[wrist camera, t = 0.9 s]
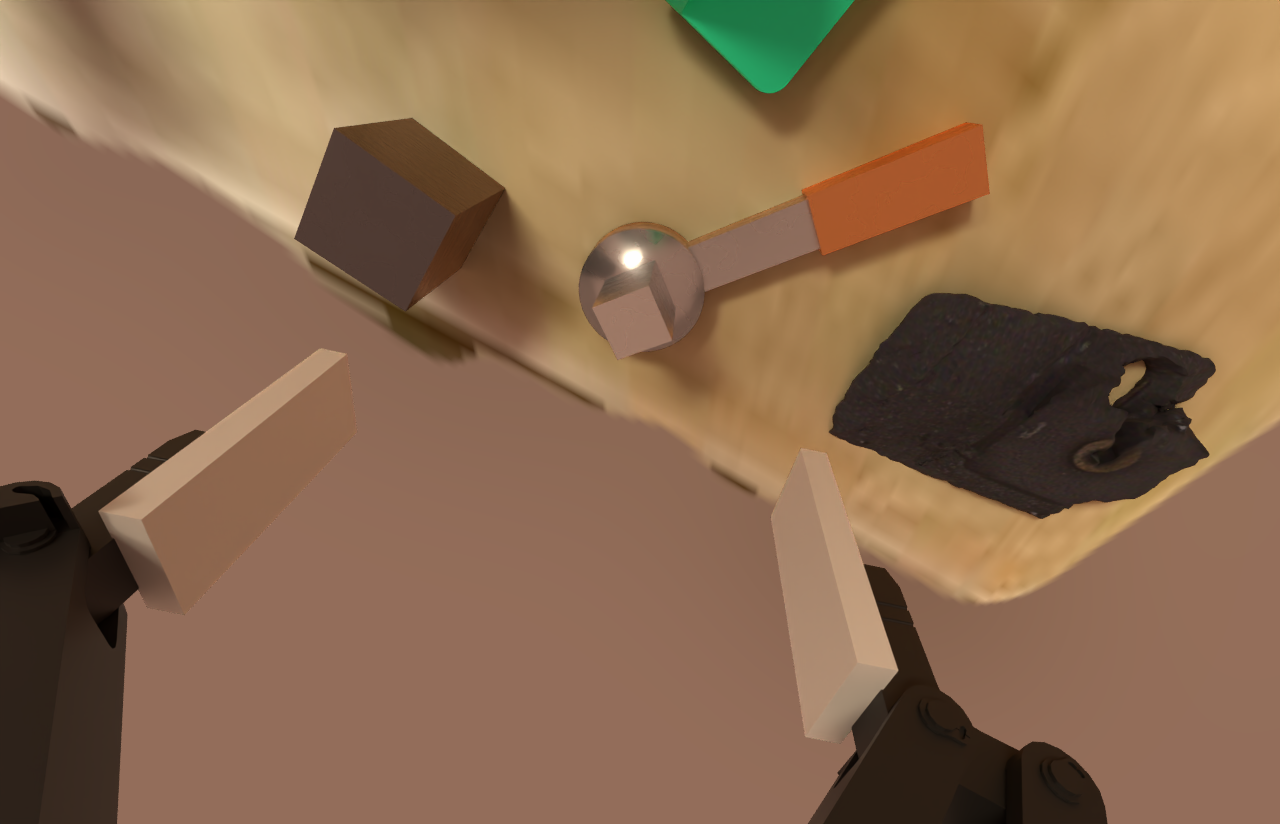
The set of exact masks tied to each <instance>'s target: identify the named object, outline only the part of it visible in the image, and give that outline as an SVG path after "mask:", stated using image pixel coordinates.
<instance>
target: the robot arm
mask: <svg viewBox="0 0 1280 824" xmlns="http://www.w3.org/2000/svg"><path fill="white" fill-rule="evenodd" d="M356 433H357V426H356V418H355V410H354V403H353V395H352V388H351V380H350V373H349V365H348V357H347V354H344V353H340V352H335V351H330V350H325V349H321V348H320V349H319V350H317V351H316V352H315V353H313V354H312V355H310V356H309V357H308V358H306V359H305V360H304V361H302V362H301V363H300V364H298V365H297V366H295V367H294V368H293V369H291V370H290V371H289V372H287V373H286V374H285V375H283V376H282V377H280V378H279V379H278V380H276V381H275V382H274V383H272V384H271V385H270V386H268V387H267V388H265V389H264V390H263V391H261V392H260V393H259V394H257V395H256V396H255V397H253V398H252V399H250V400H249V401H248V402H246V403H245V404H244V405H242V406H241V407H240V408H238V409H237V410H235V411H234V412H233V413H231V414H230V415H229V416H227V417H226V418H225V419H223V420H222V421H220V422H219V423H218V424H216V425H215V426H214V427H212V428H211V429H210V430H208V431H207V432H204V431H199V430H194V431H191V432H189V433H186V434H184V435H182V436H179V437H177V438H174V439H172V440H169V441H168V442H166V443H165V444H163V445H162V446H161V447H159V448H158V449H156V450H155V451H153V452H152V453H151V454H149V455H148V458H147V459H146V458H143V459H142V460H140V461H139V462H137V463H136V464H135V465H133V466H132V467H131V470H126V471H125V472H123V473H122V474H120V475H119V476H117V477H116V478H115V479H113V480H112V481H111V482H109V483H107V484H106V485H105V486H103V487H102V488H100V489H99V490H97V491H96V492H95V493H93V494H92V495H90V496H89V497H87V498H86V499H85V500H83V501H82V502H80V503H79V504H77V505H76V506H75V507H73V508H72V509H71V507H70V505H69V503H68V502H67V500H66V498H65V496H64V494H63V492H62V491H61V489H60V487H57V486H56V485H54V484H52V483H49V482H41V481H27V482H17V483H12V484H8V485H5V486H0V824H117V811H118V809H117V808H118V792H119V771H120V752H121V732H122V712H123V692H124V672H125V670H124V669H125V651H126V650H125V649H126V632H127V631H126V630H127V612H126V609H125V606H124V604H123V603H124V602H125V601H126V600H127V599H128V598H129V597H130V596H131V595H132V594H133V593H134V592H136V591H137V590H139V592H140V594H141V596H142V598H143V600H144V602H145V604H146V606H147V607H148V608H152V609H157V610H162V611H167V612H172V613H177V614H182V615H185V614H186V613H187V612H188V611H189V610H190V608H192V607H193V605H194V604H195V603H196V602H197V601H198V600H199V599H200V598H201V597H202V596H203V595H204V594H205V593H206V592H207V591H208V590H209V589H210V588H211V586H212V585H213V584H214V583H215V582H216V581H217V580H218V579H219V578H220V577H221V576H222V575H223V573H225V572H226V570H228V568H229V567H230V566H231V565H232V564H233V563H234V562H235V561H236V560H237V559H238V558H239V557H240V556H241V555H242V554H243V553H244V551H246V549H247V548H248V547H249V546H250V545H251V544H252V543H253V542H254V541H255V540H256V539H257V538H258V537H259V536H260V535H261V533H263V531H264V530H265V529H266V528H267V527H268V526H269V525H270V524H271V523H272V522H273V521H274V520H275V519H276V518H277V517H278V515H280V514H281V512H282V511H283V510H284V509H285V508H286V507H287V506H288V505H289V504H290V503H291V502H292V501H293V500H294V499H295V498H296V497H297V495H298V494H299V493H300V492H301V491H302V490H303V489H304V488H305V487H306V486H307V485H308V484H309V483H310V482H311V481H312V480H313V479H314V478H315V477H316V475H317V474H318V473H319V472H320V471H321V470H322V469H323V468H324V467H325V466H326V465H327V464H328V463H329V462H330V461H331V460H332V458H333V457H334V456H335V455H336V454H337V453H338V452H339V451H340V450H341V449H342V448H343V447H344V446H345V445H346V444H347V443H348V442H349V441H350V439H351V438H352V437H353V436H354V435H355V434H356ZM771 522H772V528H773V535H774V541H775V547H776V554H777V560H778V566H779V573H780V579H781V585H782V592H783V598H784V605H785V611H786V617H787V624H788V630H789V637H790V643H791V649H792V655H793V661H794V668H795V675H796V680H797V687H798V694H799V700H800V707H801V713H802V719H803V725H804V732H805V737H809V738H813V739H819V740H824V741H829V742H834V743H839V744H841V743H842V741H843V740H844V739H845V738H846V736H847V735H848V734H849V733H850V731H851V730H852V732H853V736H854V741H855V745H856V751H855V752H854V754H853V755H852V756H851V757H850V758H849V760H848V761H847V762H846V763H845V765H844V766H843V767H842V768H841V770H840V771H839V772H838V774H839V776H838V778H837V780H836V781H835V783H834V784H833V786H832V787H831V789H830V790H829V792H828V793H827V795H826V797H825V798H824V800H823V801H822V803H821V804H820V806H819V807H818V809H817V810H816V812H815V814H814V815H813V817H812V818H811V820H810V821H809V823H808V824H1107V817H1106V810H1105V805H1104V803H1103V799H1102V796H1101V793H1100V791H1099V789H1098V788H1097V786H1096V785H1095V783H1094V781H1093V780H1092V778H1091V777H1090V775H1089V774H1088V773H1087V772H1086V771H1085V770H1084V769H1083V768H1082V767H1081V766H1080V765H1079V764H1078V763H1077V762H1076V760H1074V759H1073V758H1071V757H1070V756H1069V755H1067V754H1066V753H1065V752H1063V751H1062V750H1060V749H1059V748H1057V747H1054V746H1052V745H1050V744H1047V743H1045V742H1031V743H1029V744H1028V745H1026V746H1024V747H1023V748H1022V749H1021V750H1020V751H1019V750H1017V749H1014V748H1013V747H1011V746H1008V745H1007V744H1005V743H1003V742H1001V741H999V740H997V739H995V738H993V737H991V736H989V735H987V734H985V733H983V732H981V731H979V730H978V729H976V728H974V727H973V726H972V723H971V722H970V720H969V718H968V717H967V715H966V714H965V712H964V711H963V709H962V708H961V707H960V706H959V705H958V704H957V703H956V702H955V701H954V700H953V699H952V698H951V697H949V696H948V695H946V694H945V693H943V692H941V691H940V690H939V688H938V685H937V683H936V680H935V678H934V675H933V673H932V670H931V667H930V665H929V662H928V659H927V657H926V654H925V652H924V649H923V647H922V644H921V641H920V639H919V636H918V633H917V631H916V628H915V627H913V621H912V618H911V615H910V613H909V611H907V605H906V602H905V600H904V597H903V594H902V592H901V589H900V587H899V586H898V584H897V583H896V582H895V581H894V579H893V578H892V577H891V576H890V574H889V573H888V572H887V570H886V569H885V568H880V567H875V566H870V565H866V564H863V562H862V559H861V556H860V553H859V550H858V547H857V544H856V541H855V537H854V534H853V531H852V528H851V525H850V522H849V519H848V516H847V513H846V510H845V507H844V504H843V501H842V498H841V495H840V492H839V489H838V486H837V483H836V480H835V477H834V474H833V471H832V468H831V465H830V461H829V458H828V455H827V453H824V452H819V451H814V450H809V449H804V448H800V451H799V453H798V455H797V457H796V460H795V462H794V464H793V467H792V469H791V471H790V473H789V476H788V478H787V480H786V483H785V485H784V487H783V489H782V492H781V494H780V496H779V499H778V501H777V503H776V505H775V508H774V510H773V512H772V515H771Z"/></svg>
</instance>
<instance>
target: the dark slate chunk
mask: <svg viewBox="0 0 1280 824" xmlns="http://www.w3.org/2000/svg"><path fill="white" fill-rule="evenodd" d="M1140 360H1143V361H1144V362H1145V365H1146V371H1145V374H1144V376H1143V378H1142V379H1141V380H1140V381H1138V382H1137V383H1136V384H1135V386H1134V387H1133V388H1132V389H1131V390H1130V391H1129V392H1128V393H1127V394H1126V395H1124V396H1123V397H1121V398H1119V399H1118V400H1116V401H1115V403H1114V404H1113V405H1112V406H1111V405H1110V404H1109V398H1108V396H1109V395H1110V394H1109V393H1110V391H1111V389H1113V388H1114V387H1117V386H1119V385H1120V382H1121V376H1122V375H1123V374H1124V373H1125V369H1124V367H1123V366H1125V365H1127V364H1129V363H1134V362H1137V361H1140ZM1215 371H1216V369H1215V365H1214V363H1213V362H1212V361H1211V360H1210V359H1209V358H1202V357H1201V356H1199V355H1198V354H1196V353H1194V352H1191V351H1188V350H1178V349H1176V348H1173V347H1170V346H1165V345H1162V344H1160V343H1158V342H1154V341H1149V340H1146V339H1143V338H1140V337H1135V336H1132V335H1129V334H1123V335H1122V334H1120V333H1118V332H1116V331H1113V330H1110V329H1103V330H1100V329H1099V328H1097V327H1096V326H1088V325H1087V324H1086V323H1085V322H1074V321H1071V320H1069V319H1066V318H1064V317H1060V316H1056V315H1051V314H1041V313H1037V314H1032V313H1031V312H1029V311H1027V310H1023V309H1017V308H1010V307H1008V306H1002V305H996V304H989V303H985V302H983V301H981V300H980V299H978V298H976V297H973V296H970V295H967V294H951V293H933V294H929V295H927V296H925V297H924V298H922V299H921V300H920V301H919V302H918V303H917V304H916V305H915V306H914V307H913V308H912V309H911V310H910V312H909V313H908V314H907V315H906V317H905V318H904V320H903V321H902V323H901V324H900V325H899V326H898V327H897V328H896V329H895V331H894V332H893V333H892V334H891V336H890V337H889V338H888V339H887V340H885V341H884V342H883V343H881V344H880V348H879V349H878V350H877V351H876V352H875V354H874V356H873V359H872V360H871V361H870V364H869V365H868V366H867V367H866V368H865V369H864V370H863V371H862V372H861V373H860V374H859V375H858V376H857V377H856V378H855V379H854V380H853V381H852V384H851V386H850V388H849V390H847V392H846V394H845V398H844V400H842V401H841V402H840V403H839V404H838V405H837V407H836V410H835V414H834V415H833V423H834V427H833V429H832V430H831V431H829V433H830V434H832V435H834V436H837V437H838V438H840V439H843V440H846V441H847V442H849V443H851V444H853V445H856V446H860V447H864V448H867V449H872V450H874V451H876V452H877V453H878V454H879V455H881V456H886V457H887V458H889V459H890V460H893V461H897V462H900V463H902V464H904V465H906V466H908V467H910V468H913V469H915V470H917V471H919V472H921V473H923V474H925V475H929V476H931V477H933V478H937V479H941V480H945V481H948V482H949V483H950V484H952V485H954V486H956V487H958V488H964V489H966V490H969V491H972V492H975V493H977V494H979V495H981V496H984V497H987V498H990V499H994V500H997V501H999V502H1001V503H1003V504H1006V505H1008V506H1010V507H1013V508H1016V509H1018V510H1021V511H1025V512H1027V513H1029V514H1032V515H1034V516H1036V517H1038V518H1041V519H1043V518H1045V517H1048V516H1049V515H1050V514H1055V513H1059V512H1060V511H1062V510H1063V509H1064V508H1067V509H1069V508H1070V507H1071V506H1072V505H1073V504H1080V503H1084V502H1089V501H1092V500H1096V501H1102V502H1111V501H1117V500H1123V499H1135V498H1138V497H1139V496H1141V495H1144V494H1145V493H1147V492H1148V491H1150V490H1151V489H1152V488H1154V487H1155V486H1157V485H1158V484H1159V483H1160V482H1161V481H1163V480H1165V479H1166V478H1167V477H1168V476H1169V475H1171V474H1174V473H1176V472H1178V471H1180V470H1182V469H1184V468H1188V467H1191V466H1194V465H1195V464H1196V463H1197V462H1198V461H1199V460H1200V459H1203V458H1207V457H1208V456H1209V453H1208V451H1207V450H1206V448H1205V447H1204V446H1203V445H1202V443H1201V442H1200V441H1199V440H1198V439H1197V438H1196V436H1195V434H1194V433H1193V431H1192V430H1191V429H1190V428H1189V424H1190V423H1191V420H1192V419H1190V418H1188V417H1187V416H1186V414H1185V413H1184V410H1183V408H1175V404H1177V403H1180V402H1184V401H1187V400H1189V399H1191V398H1192V397H1193V396H1194V394H1195V392H1196V391H1197V390H1198V389H1199V388H1201V387H1202V386H1203V385H1205V384H1206V382H1207V380H1208V378H1210V377H1211V376H1212V375H1213V374H1214V373H1215ZM1167 409H1169V410H1167Z"/></svg>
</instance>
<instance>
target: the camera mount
mask: <svg viewBox="0 0 1280 824" xmlns="http://www.w3.org/2000/svg"><path fill="white" fill-rule="evenodd" d="M666 1H667V2H668V3H669V4H670V5H671V6H672V7H673V8H674V9H675V10H676V11H677V12H678V13H679V14H680V15H681V16H682V17H683V18H684V19H685V20H686V21H687V22H688V23H689V24H690V25H691V26H692V27H693V28H694V29H695V30H696V31H697V32H698V33H699V34H700V35H701V36H702V37H703V38H704V39H705V40H706V41H707V42H708V43H709V44H710V45H711V46H712V47H713V48H714V49H715V50H716V51H717V52H718V53H719V54H720V55H721V56H722V57H723V58H725V59H726V60H727V61H728V62H729V63H730V64H731V65H732V66H733V67H734V68H735V69H736V70H737V71H738V72H739V73H740V74H741V75H742V76H743V77H744V78H745V79H746V80H747V81H748V82H749V83H750V84H751V85H752V86H753V87H754V88H755V89H756V90H758V91H760V92H764V93H775V92H778V91H780V90H781V89H783V88H784V87H785V86H786V85H787V84H788V83H789V81H790V80H791V79H792V78H793V76H794V75H795V74H796V73H797V71H798V70H799V69H800V68H801V66H802V65H803V64H804V63H805V61H806V60H807V59H808V58H809V56H810V55H811V54H812V53H813V51H814V50H815V49H816V48H817V46H818V45H819V44H820V43H821V41H822V40H823V39H824V38H825V36H826V35H827V34H828V33H829V31H830V30H831V29H832V28H833V26H834V25H835V24H836V23H837V21H838V20H839V19H840V18H841V16H842V15H843V14H844V13H845V11H846V10H847V9H848V8H849V6H850V5H851V4H852V3H853V1H854V0H666Z"/></svg>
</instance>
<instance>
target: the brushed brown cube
mask: <svg viewBox="0 0 1280 824" xmlns="http://www.w3.org/2000/svg"><path fill="white" fill-rule="evenodd" d="M504 190H505V188H504V187H503V186H502V185H500V184H499V183H498V182H496V181H495V180H494V179H492V178H491V177H490V176H488V175H487V174H486V173H484V172H483V171H482V170H480V169H479V168H478V167H476V166H475V165H474V164H472V163H471V162H470V161H468V160H467V159H466V158H464V157H463V156H462V155H461V154H459V153H458V152H457V151H455V150H454V149H453V148H451V147H450V146H449V145H447V144H446V143H445V142H443V141H442V140H441V139H439V138H438V137H437V136H435V135H434V134H433V133H431V132H430V131H429V130H427V129H426V128H425V127H423V126H422V125H421V124H419V123H418V122H417V121H415V120H414V119H413V118H409V119H401V120H393V121H385V122H378V123H370V124H362V125H355V126H347V127H339V128H334V130H333V133H332V135H331V138H330V141H329V144H328V147H327V149H326V152H325V155H324V158H323V160H322V163H321V166H320V169H319V172H318V174H317V177H316V180H315V183H314V185H313V188H312V191H311V194H310V197H309V199H308V202H307V205H306V208H305V210H304V213H303V216H302V219H301V222H300V224H299V227H298V230H297V233H296V235H295V238H294V239H296V240H297V241H299V242H300V243H302V244H303V245H305V246H306V247H308V248H309V249H311V250H312V251H314V252H315V253H317V254H318V255H320V256H322V257H323V258H325V259H326V260H328V261H329V262H331V263H332V264H334V265H335V266H337V267H338V268H340V269H341V270H343V271H344V272H346V273H348V274H349V275H351V276H352V277H354V278H355V279H357V280H358V281H360V282H361V283H363V284H364V285H366V286H367V287H369V288H370V289H372V290H374V291H375V292H377V293H378V294H380V295H381V296H383V297H384V298H386V299H387V300H389V301H390V302H392V303H393V304H395V305H396V306H398V307H400V308H401V309H403V310H404V311H407V310H408V309H409V308H410V307H412V306H413V305H414V304H416V303H417V302H418V301H419V300H421V299H422V298H423V297H425V296H426V295H427V294H428V293H430V292H431V291H432V290H433V289H435V288H436V287H437V286H439V285H440V284H441V283H442V282H444V281H445V280H446V279H448V278H449V277H450V276H451V275H453V274H454V273H455V272H457V271H458V270H459V269H460V268H461V267H462V265H463V263H464V261H465V259H466V258H467V256H468V254H469V252H470V250H471V249H472V247H473V245H474V243H475V241H476V240H477V238H478V236H479V234H480V232H481V231H482V229H483V227H484V225H485V224H486V222H487V220H488V218H489V216H490V215H491V213H492V211H493V209H494V207H495V206H496V204H497V202H498V200H499V198H500V197H501V195H502V193H503V191H504Z"/></svg>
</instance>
